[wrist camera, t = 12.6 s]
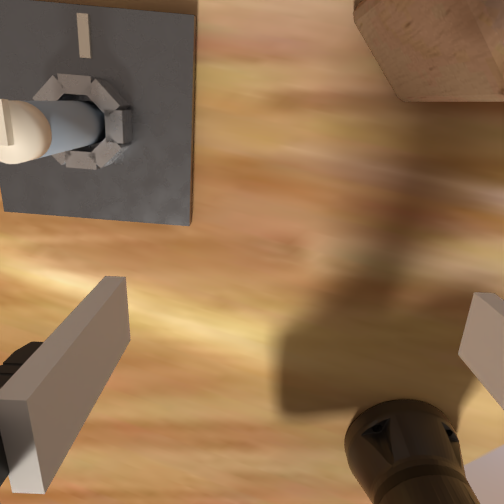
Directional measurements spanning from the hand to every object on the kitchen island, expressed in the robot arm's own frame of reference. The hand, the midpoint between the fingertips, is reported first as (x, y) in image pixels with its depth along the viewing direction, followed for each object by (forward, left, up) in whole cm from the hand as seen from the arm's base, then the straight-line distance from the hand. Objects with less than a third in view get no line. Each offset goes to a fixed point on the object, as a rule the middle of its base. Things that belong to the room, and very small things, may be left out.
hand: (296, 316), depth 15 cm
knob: (+4, +18, -27) cm, 33 cm away
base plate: (+4, +18, -29) cm, 35 cm away
